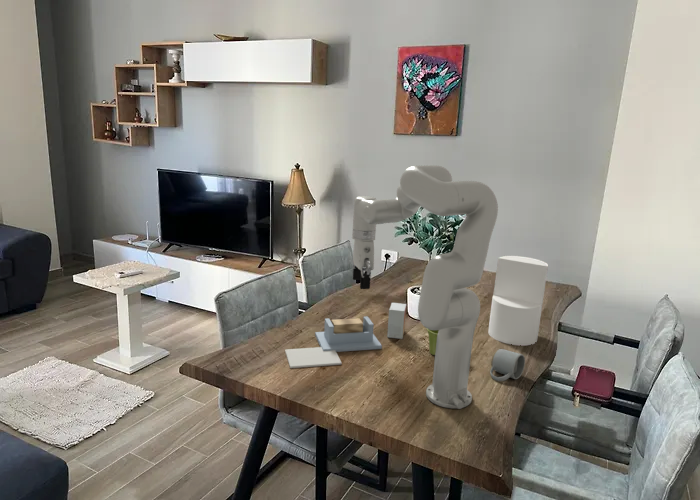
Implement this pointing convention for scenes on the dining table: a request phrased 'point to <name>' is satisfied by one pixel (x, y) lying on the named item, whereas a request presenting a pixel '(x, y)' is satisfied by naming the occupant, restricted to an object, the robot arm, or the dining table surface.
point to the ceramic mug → (507, 364)
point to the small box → (396, 320)
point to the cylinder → (517, 300)
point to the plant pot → (432, 340)
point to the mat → (311, 357)
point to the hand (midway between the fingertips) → (361, 284)
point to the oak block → (347, 325)
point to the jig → (348, 338)
